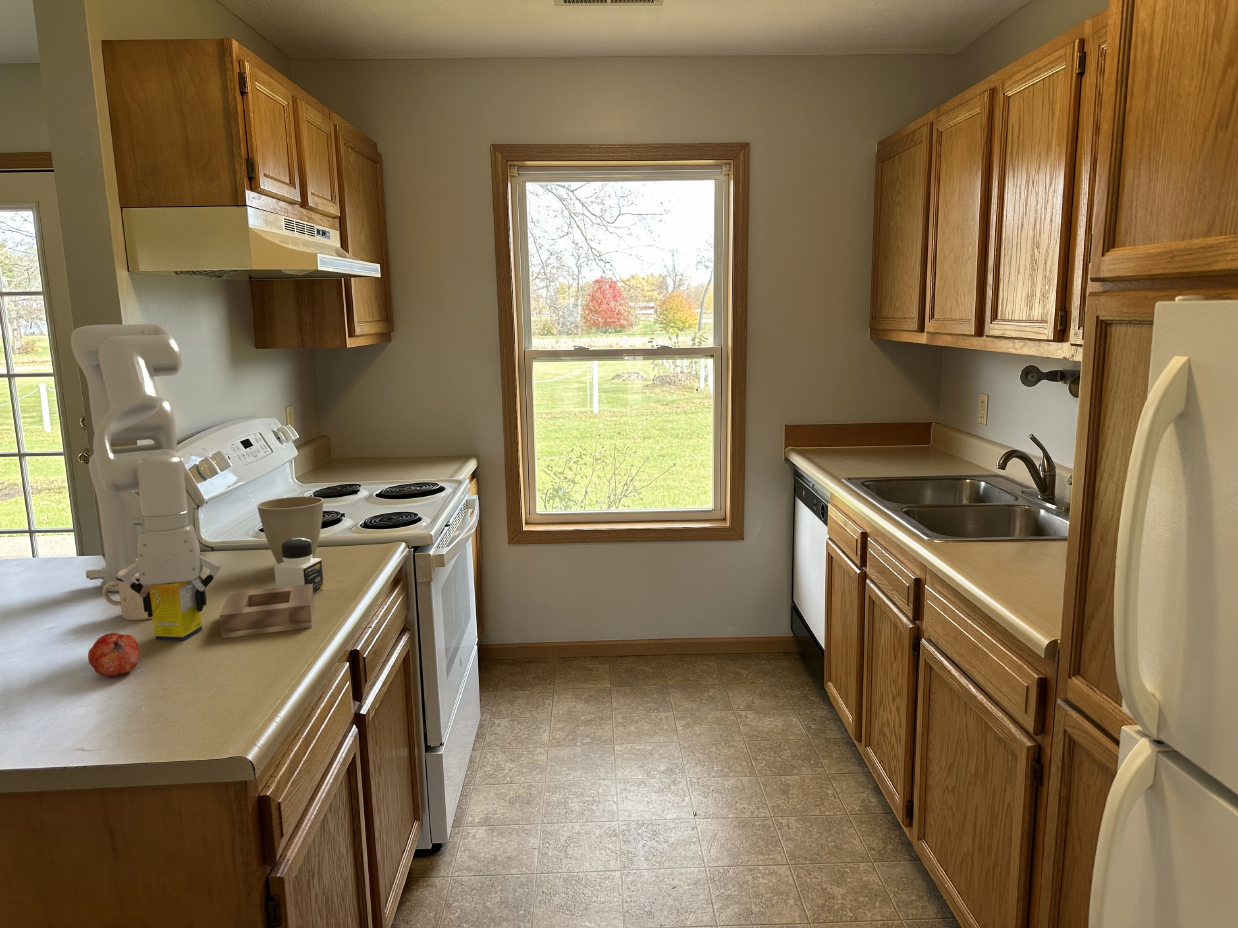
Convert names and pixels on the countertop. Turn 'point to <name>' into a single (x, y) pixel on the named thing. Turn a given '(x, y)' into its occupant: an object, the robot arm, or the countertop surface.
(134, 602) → the teacup with lid
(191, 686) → the countertop surface
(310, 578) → the medicine bottle
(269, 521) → the plant pot
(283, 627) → the wooden square frame
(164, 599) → the supplement box
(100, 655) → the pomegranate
